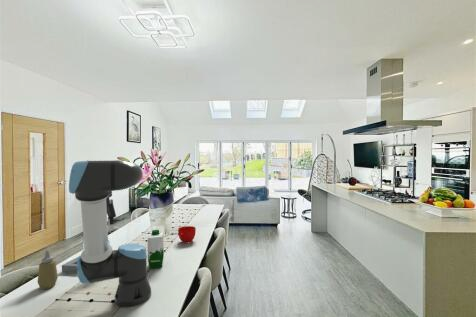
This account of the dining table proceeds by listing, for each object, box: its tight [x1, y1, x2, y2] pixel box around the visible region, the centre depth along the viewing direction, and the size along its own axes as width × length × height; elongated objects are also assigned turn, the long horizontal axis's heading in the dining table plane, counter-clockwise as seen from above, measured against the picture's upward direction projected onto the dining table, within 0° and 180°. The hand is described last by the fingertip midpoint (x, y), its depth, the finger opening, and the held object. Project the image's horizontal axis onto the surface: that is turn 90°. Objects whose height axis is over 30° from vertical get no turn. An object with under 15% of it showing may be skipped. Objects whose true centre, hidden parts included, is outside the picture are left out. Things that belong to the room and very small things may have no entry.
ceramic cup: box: [177, 225, 197, 244], centre depth 187 cm, size 13×17×10 cm
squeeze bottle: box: [37, 249, 59, 290], centre depth 124 cm, size 8×8×18 cm
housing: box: [61, 256, 79, 274], centre depth 151 cm, size 24×16×4 cm, turn 173°
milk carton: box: [147, 229, 165, 270], centre depth 147 cm, size 9×9×20 cm
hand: (104, 228), depth 139 cm, fingers open, 13 cm apart
